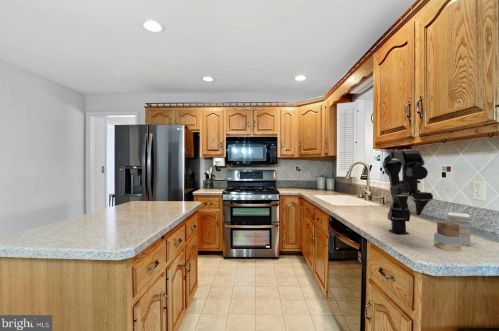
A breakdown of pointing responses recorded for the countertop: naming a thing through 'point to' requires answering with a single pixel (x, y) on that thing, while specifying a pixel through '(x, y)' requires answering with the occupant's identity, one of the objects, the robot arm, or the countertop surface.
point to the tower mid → (447, 239)
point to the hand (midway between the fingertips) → (410, 213)
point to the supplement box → (462, 226)
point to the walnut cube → (448, 229)
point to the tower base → (447, 246)
